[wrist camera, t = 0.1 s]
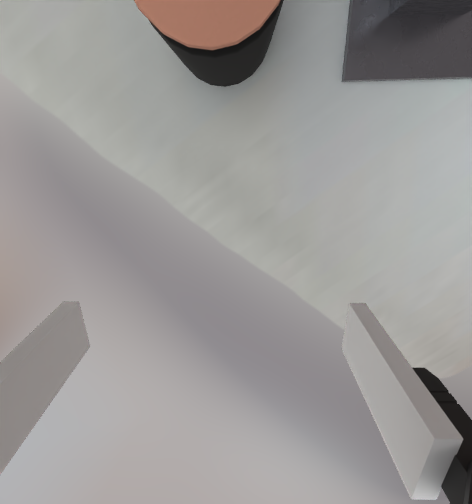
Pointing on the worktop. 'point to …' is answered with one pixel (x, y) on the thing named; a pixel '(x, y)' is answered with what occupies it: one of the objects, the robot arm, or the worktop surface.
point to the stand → (408, 40)
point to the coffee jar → (215, 34)
